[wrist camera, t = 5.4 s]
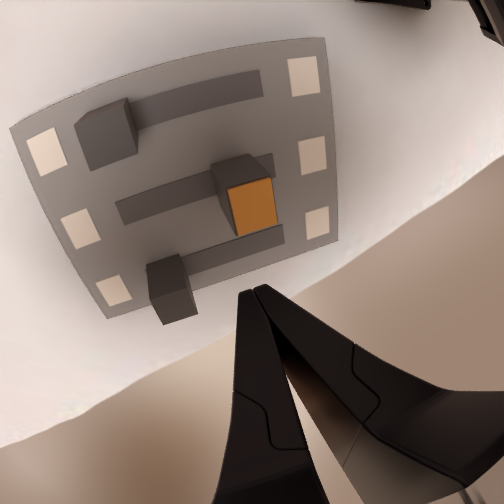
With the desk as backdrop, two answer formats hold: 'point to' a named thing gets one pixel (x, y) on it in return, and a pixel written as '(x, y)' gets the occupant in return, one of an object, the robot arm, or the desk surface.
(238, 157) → the block
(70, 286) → the desk surface
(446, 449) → the robot arm
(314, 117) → the panel
